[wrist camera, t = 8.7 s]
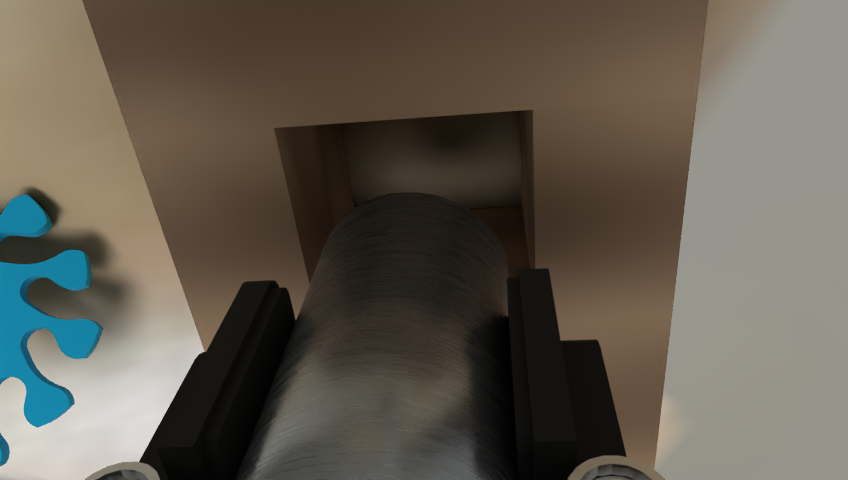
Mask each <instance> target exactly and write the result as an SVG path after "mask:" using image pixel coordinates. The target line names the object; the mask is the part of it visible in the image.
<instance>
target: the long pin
mask: <svg viewBox="0 0 848 480" xmlns="http://www.w3.org/2000/svg"><path fill="white" fill-rule="evenodd" d="M507 278H509V274H508V265H507V260H506V256H505V253H504V250H503V248H502V246H501V243H500V241H499V240H498V238H497V237H496V235H495V234H494V232H493V231H492V230H491V228H490V227H489V226H488V225H487V224H486V223H485V222H484V221H483V220H482V219H481V218H480V217H478V216H477V215H476V214H475V213H473V212H472V211H470V210H469V209H467V208H466V207H464V206H462V205H460V204H458V203H456V202H454V201H451V200H448V199H446V198H443V197H439V196H435V195H431V194H424V193H395V194H389V195H385V196H380V197H377V198H374V199H372V200H369V201H366V202H365V203H363V204H361V205H359V206H357V207H355V208H354V209H353V210H351V211H350V212H349V213H347V214H346V215H345V216H344V217H343V218H342V219H341V220H340V221H339V222H338V223H337V224H336V226H335V227H334V228H333V230H332V231H331V233H330V235H329V237H328V238H327V240H326V243H325V245H324V248H323V251H322V253H321V256H320V259H319V261H318V264H317V267H316V269H315V272H314V274H313V277H312V280H311V282H310V285H309V288H308V290H307V293H306V295H305V298H304V301H303V303H302V306H301V309H300V311H299V314H298V317H297V319H296V322H295V324H294V327H293V330H292V332H291V335H290V338H289V340H288V343H287V345H286V348H285V351H284V353H283V356H282V359H281V361H280V364H279V366H278V369H277V372H276V374H275V377H274V380H273V382H272V385H271V388H270V390H269V393H268V395H267V398H266V401H265V403H264V406H263V409H262V411H261V414H260V416H259V419H258V422H257V424H256V427H255V430H254V432H253V435H252V437H251V440H250V443H249V445H248V448H247V451H246V453H245V456H244V459H243V461H242V464H241V466H240V469H239V472H238V474H237V477H236V480H518V467H517V451H516V434H515V418H514V402H513V386H512V370H511V354H510V337H509V321H508V300H507Z"/></svg>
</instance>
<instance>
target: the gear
mask: <svg viewBox="0 0 848 480" xmlns="http://www.w3.org/2000/svg"><path fill="white" fill-rule="evenodd" d="M52 226H53V225H52V222H51V219H50V218H49V216H48V214H47V213H46V212H45V211H44V209H43V208H42V207H41V206H40V205H39V204H38V203H37V202H36V201H34V200H33V199H32V198H31V197H30V196H29V195H21V196H18V197H16V198H14V199H12V200H11V201H10V202H9V203H8V205H7V206H6V208H5V210H4V211H3V213H2V214H1V215H0V242H1V241H2V240H3V239H5V238H7V237H9V236H25V237H39V236H41V235H44V234H45V233H47V232H48V231H49V230H50V229H51V228H52ZM38 278H49V279H51V280H52V281H54V282H55V283H57V284H58V285H60V286H62V287H64V288H66V289H69V290H75V291H78V290H83V289H86V288H88V287H89V286H90V283H91V266H90V262H89V258H88V255H87V254H85V253H84V252H82V251H79V250H67V251H64V252H62V253H60V254H59V255H57V256H55V257H53V258H51V259H49V260H46V261H43V262H39V263H34V264H13V263H4V262H2V261H1V260H0V384H1V383H2V382H3V381H4V380H5V379H7V378H9V377H16V378H18V379H20V380H21V381H22V382H23V383H24V384H25V386H26V390H27V392H26V399H25V404H24V415H25V417H26V419H27V421H28V422H29V423H30V424H32V425H33V426H35V427H40V426H43V425H45V424H47V423H50V422H52V421H53V420H55V419H57V418H58V417H60V416H61V415H62V414H64V413H65V412H66V411H67V410H68V409H69V408H70V407H71V406H72V405H74V404H75V403H74V398H73V395H72V394H71V392H70V391H69V390H68V389H66V388H65V387H62V386H59V385H57V384H55V383H53V382H51V381H49V380H48V379H47V378H46V377H44V376H43V375H42V374H41V373H40V372H39V370H38V369H37V368H36V366H35V364H34V363H33V361H32V358H31V356H30V354H29V351H28V348H27V341H28V338H29V337H30V335H31V334H32V333H33V332H35V331H36V330H39V329H42V328H45V329H48V330H50V331H51V332H52V333H53V334H54V336H55V338H56V341H57V343H58V345H59V348H60V349H61V351H62V352H63V353H64V354H65V355H67V356H68V357H71V358H75V359H82V358H88V356H89V355H90V354H91V353H92V352H93V350H94V349H95V347H96V345H97V343H98V341H99V339H100V336H101V333H102V330H103V328H102V327H101V326H100V325H99V324H98V323H96V322H94V321H92V320H88V319H74V320H63V319H58V318H55V317H52V316H50V315H48V314H46V313H44V312H42V311H41V310H39V309H38V308H36V307H35V306H34V305H32V304H31V303H30V302H29V300H28V299H27V288H28V286H29V285H30V284H31V283H32V282H33V281H34V280H36V279H38ZM9 453H10V451H9V446H8V444H7V442H6V440H5V439H4V438H3V437H2V435H1V433H0V466H2V465H3V464H5V463H6V462H7V460H8V458H9Z"/></svg>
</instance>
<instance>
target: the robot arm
mask: <svg viewBox="0 0 848 480" xmlns="http://www.w3.org/2000/svg"><path fill="white" fill-rule="evenodd" d="M507 300H508V321H509V337H510V354H511V370H512V386H513V402H514V418H515V434H516V451H517V467H518V480H665V479H664V478H663V477H662V476H661V475H660V474H659V473H658V472H656V471H655V470H654V469H653V468H652V467H650V466H648V465H646V464H644V463H642V462H640V461H638V460H636V459H632V458H627V455H626V451H625V447H624V443H623V439H622V435H621V430H620V426H619V422H618V418H617V414H616V410H615V405H614V401H613V397H612V393H611V389H610V385H609V381H608V376H607V372H606V368H605V364H604V360H603V356H602V351H601V347H600V344H599V341H598V340H597V339H594V340H562V341H561V340H560V334H559V328H558V322H557V315H556V309H555V303H554V297H553V291H552V285H551V279H550V273H549V269H548V268H539V269H518V277H516V278H507ZM295 322H296V319H295V315H294V311H293V307H292V303H291V299H290V295H289V292H288V290H287V288H285V287H282V288H279V285H278V283H277V282H276V281H275V280H266V281H246V282H244V283H243V284H242V285H241V287H240V289H239V291H238V293H237V295H236V297H235V299H234V300H233V302H232V304H231V306H230V308H229V310H228V312H227V314H226V315H225V317H224V319H223V321H222V323H221V325H220V327H219V329H218V330H217V332H216V334H215V336H214V338H213V340H212V342H211V344H210V345H209V347H208V349H207V351H206V352H203V353H201V354H199V355H198V356H197V358H196V359H195V360H194V362H193V364H192V366H191V368H190V370H189V371H188V373H187V375H186V377H185V379H184V381H183V382H182V384H181V386H180V388H179V390H178V392H177V393H176V395H175V397H174V399H173V401H172V403H171V404H170V406H169V408H168V410H167V412H166V414H165V415H164V417H163V419H162V421H161V423H160V424H159V426H158V428H157V430H156V432H155V434H154V435H153V437H152V439H151V441H150V443H149V445H148V446H147V448H146V450H145V452H144V454H143V456H142V457H141V459H140V461H139V462H122V463H118V464H115V465H111V466H108V467H106V468H103V469H101V470H99V471H97V472H95V473H93V474H92V475H90V476H89V477H88V478H86V479H85V480H236V477H237V474H238V472H239V469H240V466H241V464H242V461H243V459H244V456H245V453H246V451H247V448H248V445H249V443H250V440H251V437H252V435H253V432H254V430H255V427H256V424H257V422H258V419H259V416H260V414H261V411H262V409H263V406H264V403H265V401H266V398H267V395H268V393H269V390H270V388H271V385H272V382H273V380H274V377H275V374H276V372H277V369H278V366H279V364H280V361H281V359H282V356H283V353H284V351H285V348H286V345H287V343H288V340H289V338H290V335H291V332H292V330H293V327H294V324H295Z"/></svg>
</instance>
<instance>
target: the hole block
mask: <svg viewBox="0 0 848 480" xmlns="http://www.w3.org/2000/svg"><path fill="white" fill-rule="evenodd" d="M83 3H84V6H85V9H86V12H87V15H88V18H89V21H90V23H91V26H92V29H93V32H94V35H95V38H96V41H97V43H98V46H99V49H100V52H101V55H102V58H103V61H104V64H105V66H106V69H107V72H108V75H109V78H110V81H111V84H112V87H113V89H114V92H115V95H116V98H117V101H118V104H119V107H120V109H121V112H122V115H123V118H124V121H125V124H126V127H127V130H128V132H129V135H130V138H131V141H132V144H133V147H134V150H135V152H136V155H137V158H138V161H139V164H140V167H141V170H142V173H143V175H144V178H145V181H146V184H147V187H148V190H149V193H150V196H151V198H152V201H153V204H154V207H155V210H156V213H157V216H158V218H159V221H160V224H161V227H162V230H163V233H164V236H165V239H166V241H167V244H168V247H169V250H170V253H171V256H172V259H173V261H174V264H175V267H176V270H177V273H178V276H179V279H180V282H181V284H182V287H183V290H184V293H185V296H186V299H187V302H188V305H189V307H190V310H191V313H192V316H193V319H194V322H195V325H196V327H197V330H198V333H199V336H200V339H201V342H202V345H203V348H204V350H205V352H206V351H207V349H208V347H209V345H210V344H211V342H212V340H213V338H214V336H215V334H216V332H217V330H218V329H219V327H220V325H221V323H222V321H223V319H224V317H225V315H226V314H227V312H228V310H229V308H230V306H231V304H232V302H233V300H234V299H235V297H236V295H237V293H238V291H239V289H240V287H241V285H242V284H243V283H244V282H246V281H266V280H275V281H276V282H277V283H278V285H279V288H282V287H285V288H287V290H288V292H289V295H290V299H291V303H292V307H293V311H294V315H295V319H297V317H298V314H299V311H300V309H301V306H302V303H303V301H304V298H305V295H306V293H307V290H308V288H309V285H310V282H311V280H312V277H313V274H314V272H315V269H316V267H317V264H318V261H319V259H320V256H321V253H322V251H323V248H324V245H325V243H326V240H327V238H328V237H329V235H330V233H331V231H332V230H333V228H334V227H335V226H336V224H337V223H338V222H339V221H340V220H341V219H342V218H343V217H344V216H345V215H346V214H347V213H349V212H350V211H351V210H353V209H354V203H353V198H352V192H351V186H350V180H349V175H348V169H347V163H346V157H345V152H344V146H343V140H342V134H341V129H340V123H352V122H366V121H380V120H394V119H408V118H422V117H436V116H450V115H464V114H478V113H493V112H507V111H519V117H520V154H521V191H522V206H514V207H496V208H478V209H469V210H470V211H472V212H473V213H475V214H476V215H477V216H478V217H480V218H481V219H482V220H483V221H484V222H485V223H486V224H487V225H488V226H489V227H490V228H491V230H492V231H493V232H494V234H495V235H496V237H497V238H498V240H499V241H500V243H501V246H502V248H503V250H504V253H505V256H506V260H507V265H508V274H509V278H516V277H518V269H539V268H548V269H549V273H550V279H551V285H552V291H553V297H554V303H555V309H556V315H557V322H558V328H559V334H560V340H561V341H562V340H594V339H597V340H598V341H599V344H600V347H601V351H602V356H603V360H604V364H605V368H606V372H607V376H608V381H609V385H610V389H611V393H612V397H613V401H614V405H615V410H616V414H617V418H618V422H619V426H620V430H621V435H622V439H623V443H624V447H625V451H626V455H627V458H632V459H636V460H638V461H640V462H642V463H644V464H646V465H648V466H650V467H652V468H653V469H654V466H655V458H656V449H657V440H658V431H659V423H660V414H661V405H662V397H663V388H664V379H665V371H666V362H667V353H668V345H669V336H670V327H671V318H672V310H673V301H674V292H675V284H676V275H677V266H678V257H679V248H680V240H681V231H682V223H683V214H684V205H685V197H686V188H687V179H688V171H689V162H690V153H691V145H692V136H693V127H694V118H695V110H696V101H697V92H698V84H699V75H700V66H701V58H702V49H703V40H704V31H705V23H706V14H707V5H708V0H83Z"/></svg>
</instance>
